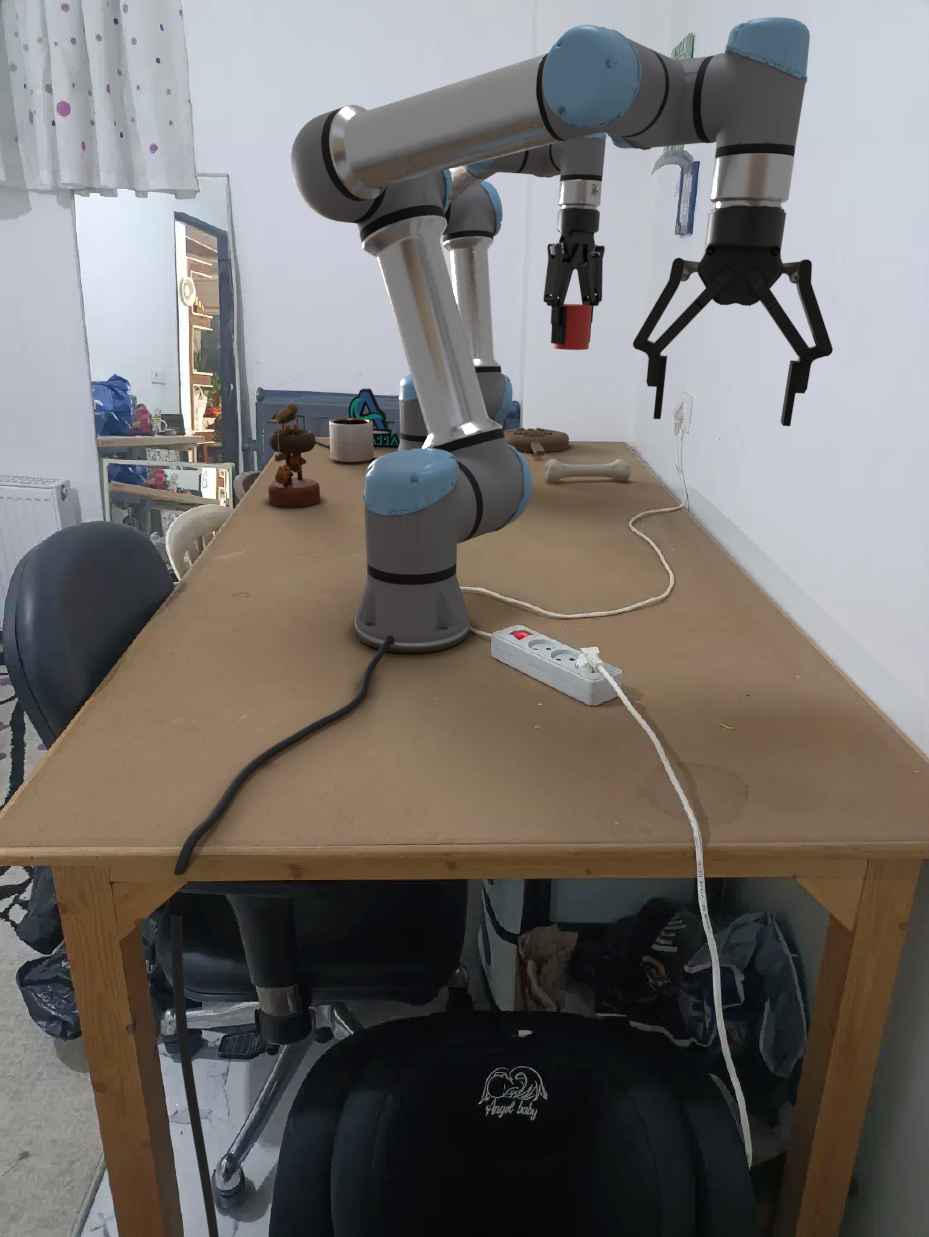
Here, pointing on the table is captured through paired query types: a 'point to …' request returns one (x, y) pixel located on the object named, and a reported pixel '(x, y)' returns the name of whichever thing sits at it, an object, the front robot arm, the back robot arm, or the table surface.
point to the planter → (351, 440)
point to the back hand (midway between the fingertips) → (570, 342)
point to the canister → (576, 327)
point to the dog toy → (587, 470)
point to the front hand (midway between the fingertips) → (720, 421)
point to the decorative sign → (373, 418)
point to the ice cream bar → (536, 440)
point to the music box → (291, 462)
